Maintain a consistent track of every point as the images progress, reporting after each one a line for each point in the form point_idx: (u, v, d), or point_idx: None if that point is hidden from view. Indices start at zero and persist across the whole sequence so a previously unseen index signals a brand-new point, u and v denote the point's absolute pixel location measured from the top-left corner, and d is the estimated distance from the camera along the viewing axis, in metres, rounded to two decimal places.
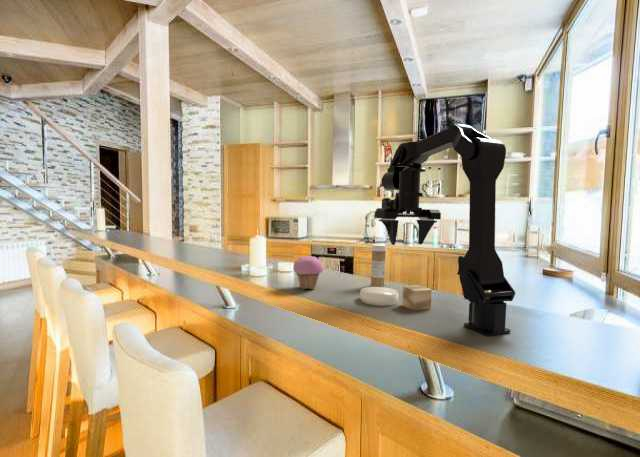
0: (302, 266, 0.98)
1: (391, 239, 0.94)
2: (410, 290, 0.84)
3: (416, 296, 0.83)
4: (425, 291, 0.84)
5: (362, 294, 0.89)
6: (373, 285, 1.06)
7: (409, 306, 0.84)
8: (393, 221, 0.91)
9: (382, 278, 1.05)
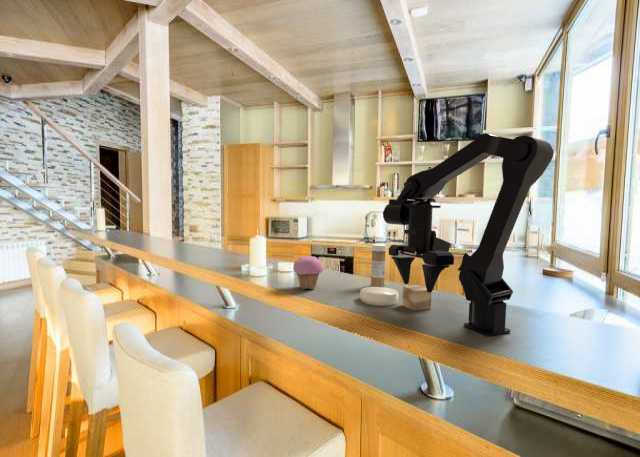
0: (302, 266, 0.98)
1: None
2: (410, 290, 0.84)
3: (416, 296, 0.83)
4: (425, 291, 0.84)
5: (362, 294, 0.89)
6: (373, 285, 1.06)
7: (409, 306, 0.84)
8: (393, 258, 0.90)
9: (382, 278, 1.05)
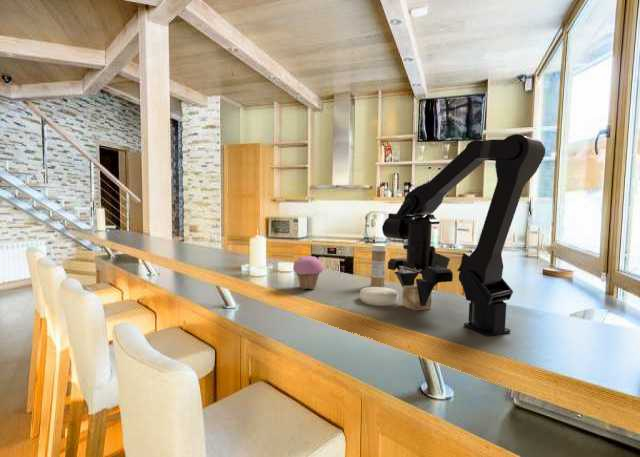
0: (302, 266, 0.98)
1: None
2: (410, 290, 0.84)
3: (416, 296, 0.83)
4: None
5: (362, 294, 0.89)
6: (373, 285, 1.06)
7: (409, 306, 0.84)
8: (396, 273, 0.89)
9: (382, 278, 1.05)
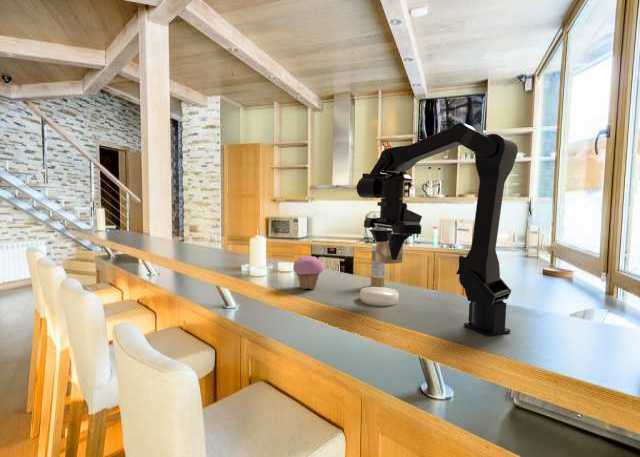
0: (302, 266, 0.98)
1: None
2: (382, 244, 0.88)
3: (388, 250, 0.86)
4: None
5: (362, 294, 0.89)
6: (373, 285, 1.06)
7: (381, 260, 0.88)
8: (371, 231, 0.92)
9: (382, 278, 1.05)
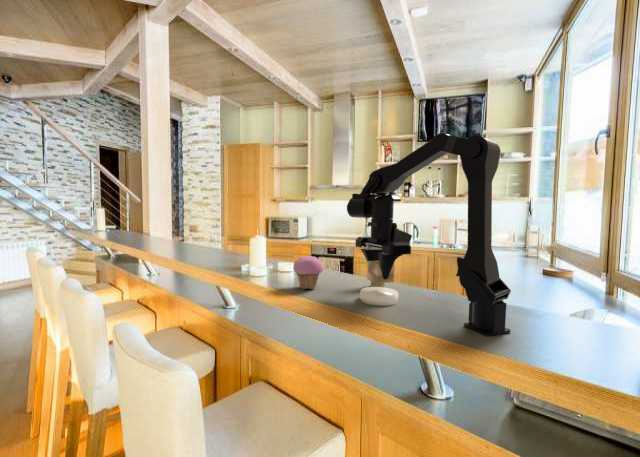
0: (302, 266, 0.98)
1: None
2: (373, 264, 0.89)
3: (379, 269, 0.88)
4: None
5: (362, 294, 0.89)
6: (373, 285, 1.06)
7: (373, 279, 0.89)
8: (362, 250, 0.94)
9: None
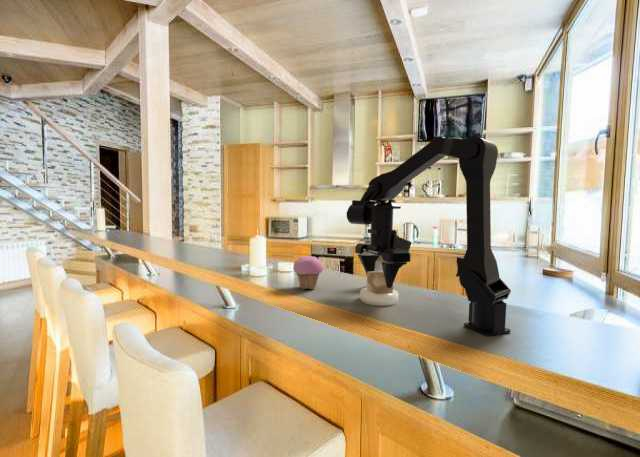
0: (302, 266, 0.98)
1: None
2: (373, 275, 0.89)
3: (378, 280, 0.88)
4: None
5: (362, 294, 0.89)
6: None
7: (372, 290, 0.90)
8: (358, 256, 0.96)
9: None
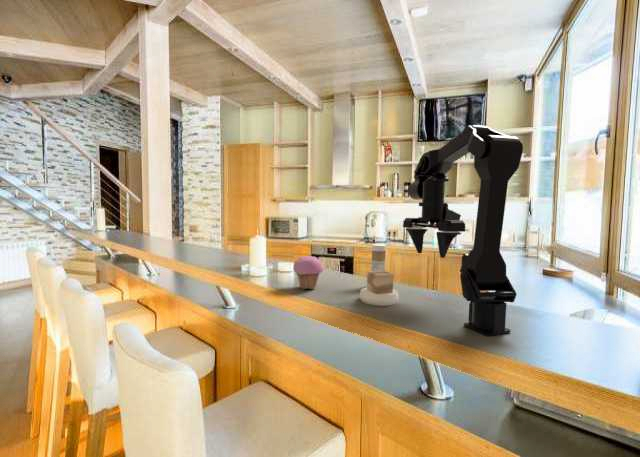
0: (302, 266, 0.98)
1: None
2: (373, 275, 0.89)
3: (378, 280, 0.88)
4: (387, 275, 0.89)
5: (362, 294, 0.89)
6: None
7: (372, 290, 0.90)
8: (407, 229, 0.99)
9: None
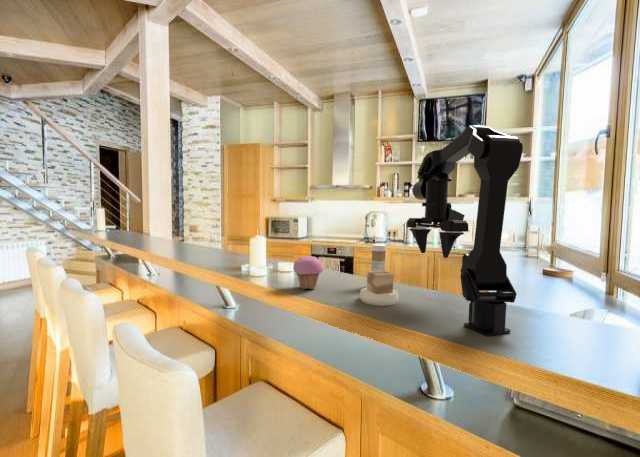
0: (302, 266, 0.98)
1: None
2: (373, 275, 0.89)
3: (378, 280, 0.88)
4: (387, 275, 0.89)
5: (362, 294, 0.89)
6: None
7: (372, 290, 0.90)
8: (411, 229, 0.99)
9: None
